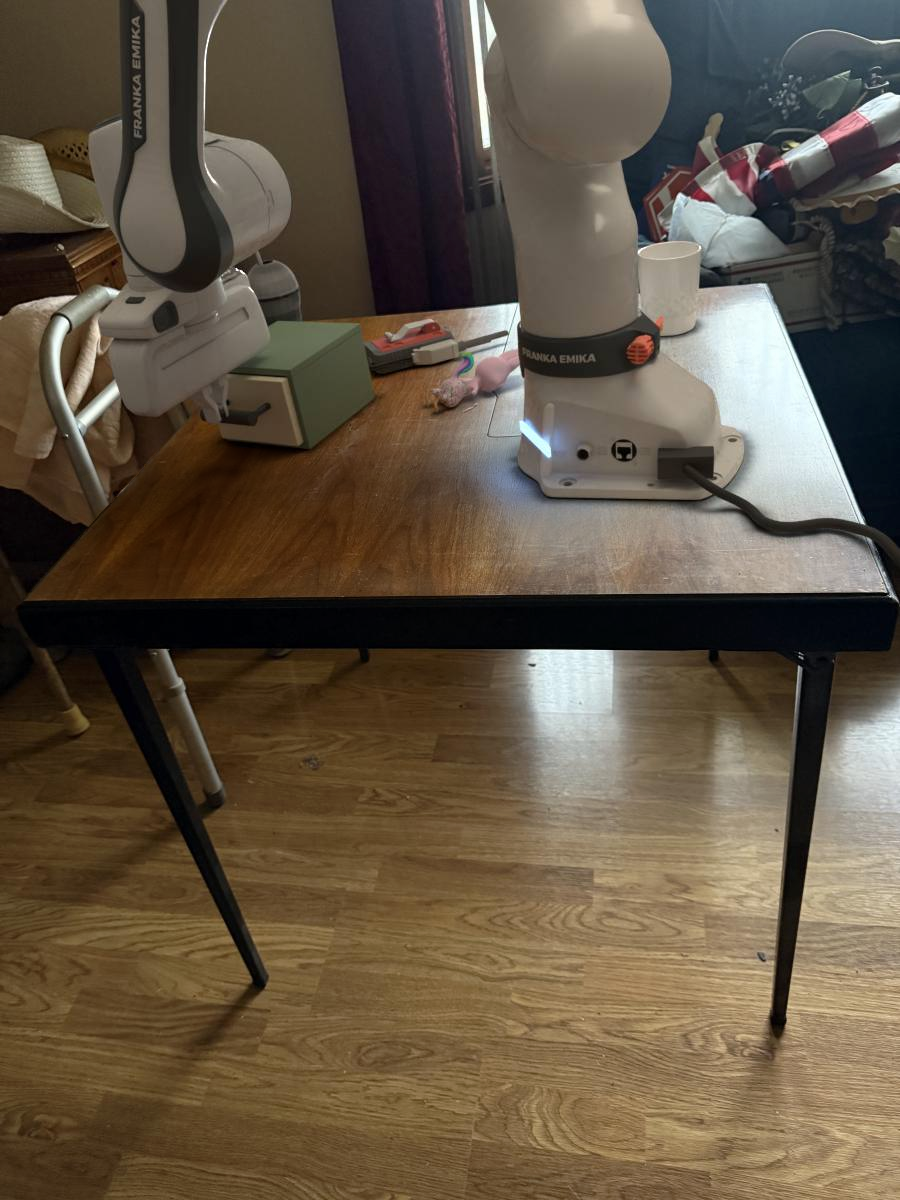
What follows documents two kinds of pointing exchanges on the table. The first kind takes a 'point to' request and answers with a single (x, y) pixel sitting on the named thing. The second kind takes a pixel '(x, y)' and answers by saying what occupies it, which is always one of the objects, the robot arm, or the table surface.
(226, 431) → the drawer
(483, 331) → the table surface
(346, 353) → the cabinet
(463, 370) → the pink unicorn toy
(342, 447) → the table surface
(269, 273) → the beverage cup
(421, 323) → the toy chainsaw
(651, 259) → the white cup
